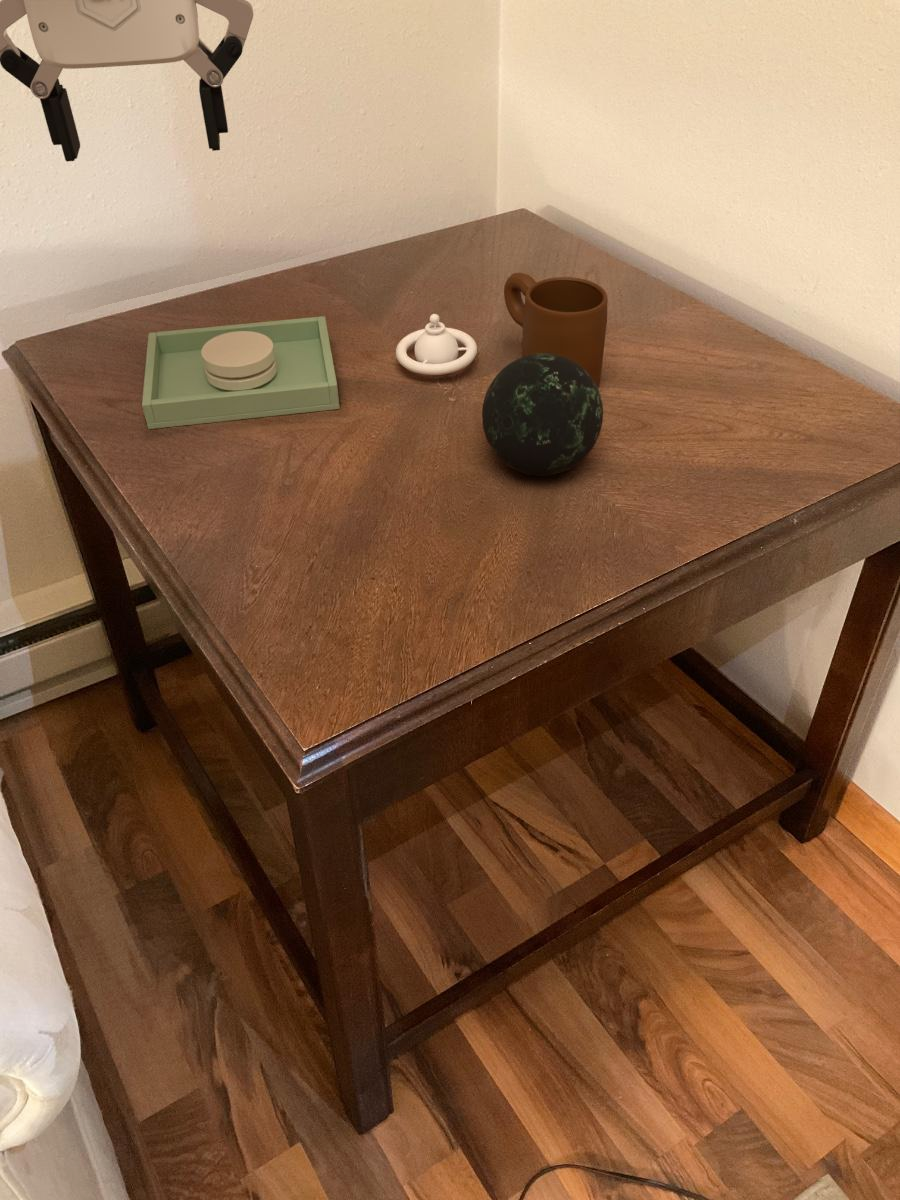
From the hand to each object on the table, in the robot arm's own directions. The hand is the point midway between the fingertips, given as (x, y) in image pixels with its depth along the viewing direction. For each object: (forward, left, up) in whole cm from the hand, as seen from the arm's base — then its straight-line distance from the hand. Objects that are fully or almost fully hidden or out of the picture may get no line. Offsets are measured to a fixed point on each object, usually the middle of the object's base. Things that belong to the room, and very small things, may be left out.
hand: (144, 149), depth 69 cm
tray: (+3, +13, -26) cm, 29 cm away
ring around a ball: (+22, +12, -26) cm, 36 cm away
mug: (+32, +8, -26) cm, 42 cm away
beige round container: (+3, +13, -26) cm, 29 cm away
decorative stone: (+28, -6, -26) cm, 39 cm away
